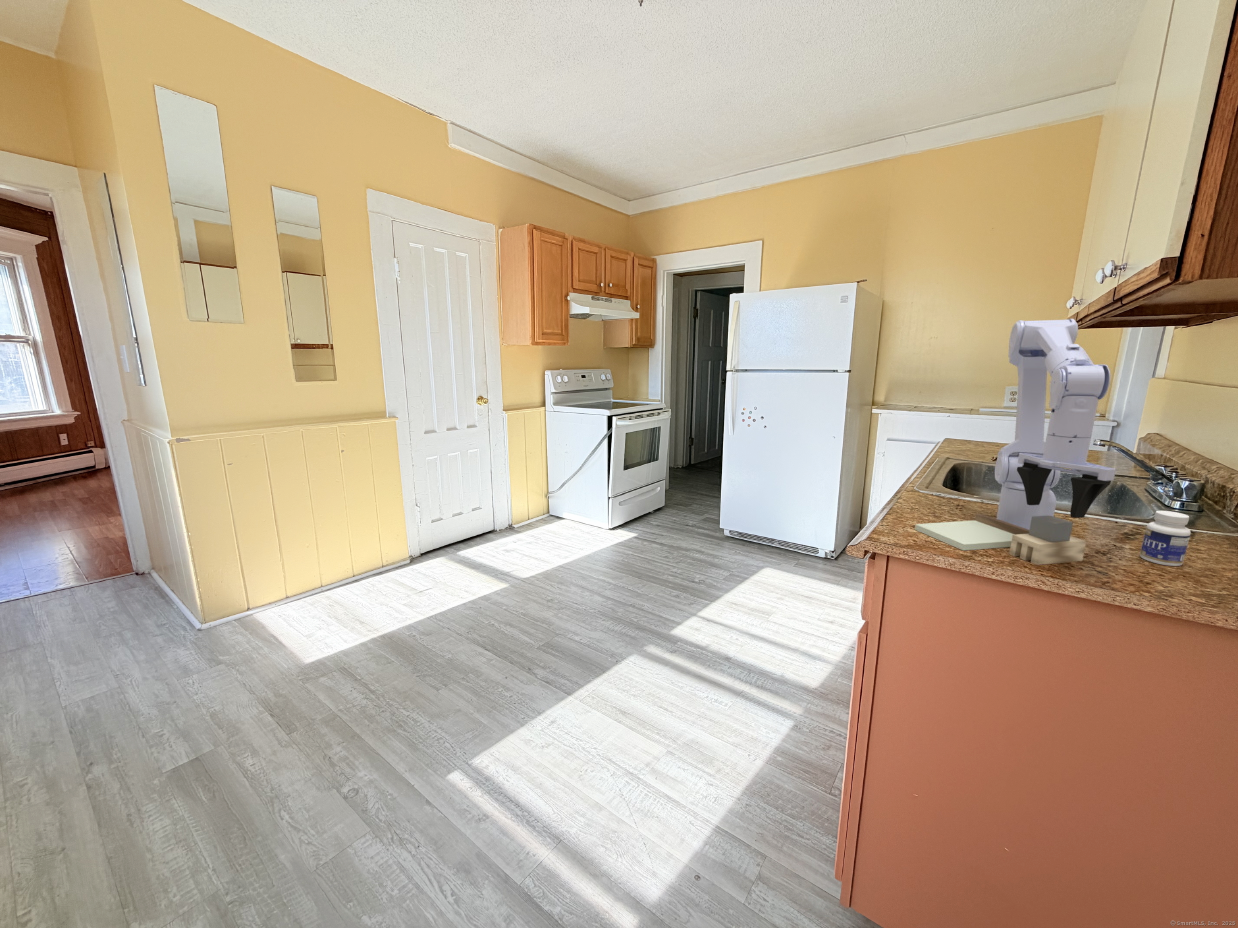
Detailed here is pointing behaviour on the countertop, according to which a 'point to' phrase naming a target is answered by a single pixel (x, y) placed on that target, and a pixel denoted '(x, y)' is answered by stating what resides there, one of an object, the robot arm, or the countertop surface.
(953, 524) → the pale green flat slab
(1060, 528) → the gray cube
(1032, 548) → the pallet
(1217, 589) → the countertop surface
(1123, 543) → the countertop surface
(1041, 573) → the countertop surface
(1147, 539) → the pill bottle
